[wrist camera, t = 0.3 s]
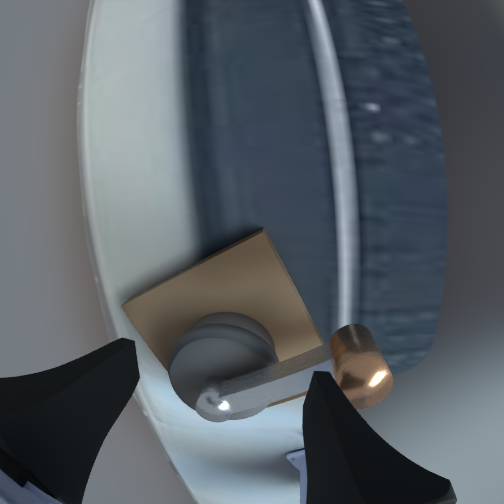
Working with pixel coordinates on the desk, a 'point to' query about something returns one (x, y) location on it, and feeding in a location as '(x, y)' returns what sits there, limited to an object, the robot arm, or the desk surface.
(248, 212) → the desk surface
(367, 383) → the hammer
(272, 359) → the wooden base with cylinder
